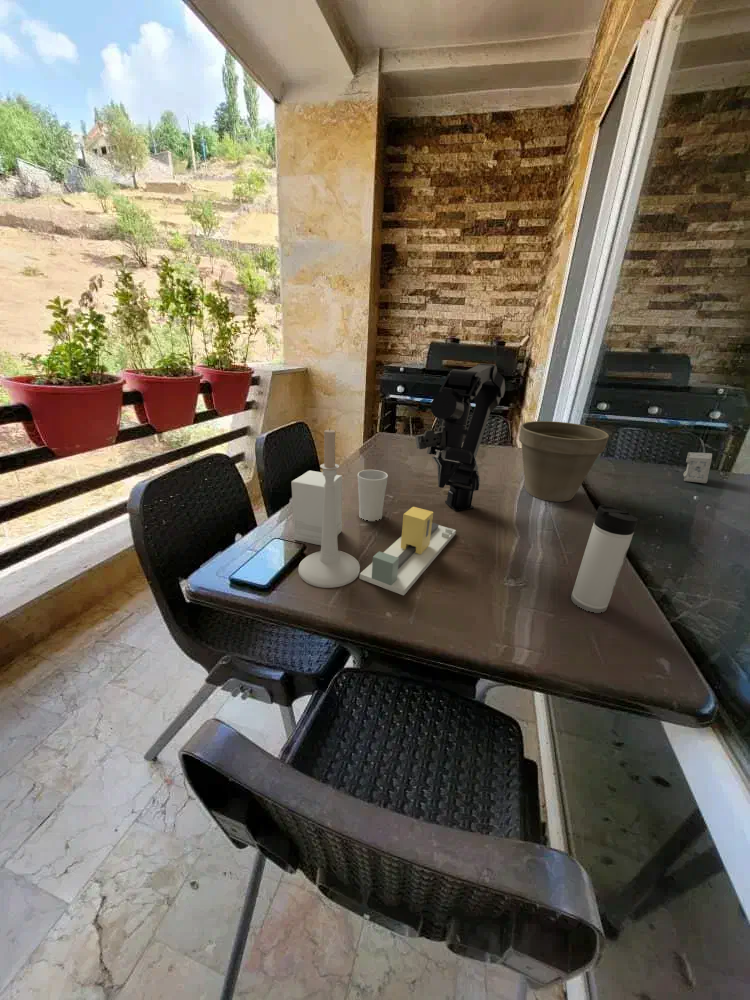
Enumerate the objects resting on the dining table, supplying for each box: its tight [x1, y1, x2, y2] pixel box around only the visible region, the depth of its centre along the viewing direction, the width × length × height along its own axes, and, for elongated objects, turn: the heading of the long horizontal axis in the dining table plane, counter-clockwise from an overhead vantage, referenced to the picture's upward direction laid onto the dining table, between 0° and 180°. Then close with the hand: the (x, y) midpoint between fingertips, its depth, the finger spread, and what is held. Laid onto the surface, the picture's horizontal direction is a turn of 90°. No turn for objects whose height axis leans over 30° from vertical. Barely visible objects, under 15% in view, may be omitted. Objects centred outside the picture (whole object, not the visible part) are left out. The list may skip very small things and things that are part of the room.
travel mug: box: [570, 505, 639, 614], centre depth 71 cm, size 6×7×20 cm
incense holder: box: [682, 451, 713, 484], centre depth 147 cm, size 10×8×10 cm
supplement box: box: [290, 470, 343, 546], centre depth 92 cm, size 9×9×15 cm
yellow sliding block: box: [400, 506, 434, 554], centre depth 87 cm, size 5×5×8 cm
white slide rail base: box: [359, 522, 457, 596], centre depth 88 cm, size 30×10×6 cm, turn 150°
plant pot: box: [518, 420, 610, 503], centre depth 124 cm, size 25×25×22 cm
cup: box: [357, 469, 389, 522], centre depth 104 cm, size 8×8×12 cm
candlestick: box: [297, 427, 361, 589], centre depth 76 cm, size 13×13×30 cm
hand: (440, 487), depth 96 cm, fingers closed
